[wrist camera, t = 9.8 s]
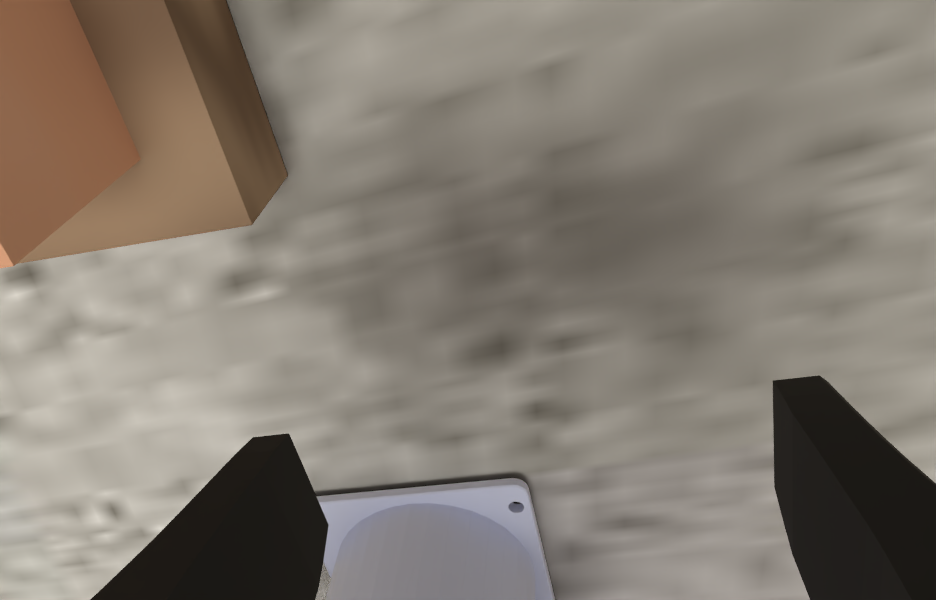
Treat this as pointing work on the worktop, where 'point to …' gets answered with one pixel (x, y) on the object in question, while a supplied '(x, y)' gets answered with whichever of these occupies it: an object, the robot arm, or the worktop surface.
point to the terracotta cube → (52, 124)
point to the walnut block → (174, 127)
